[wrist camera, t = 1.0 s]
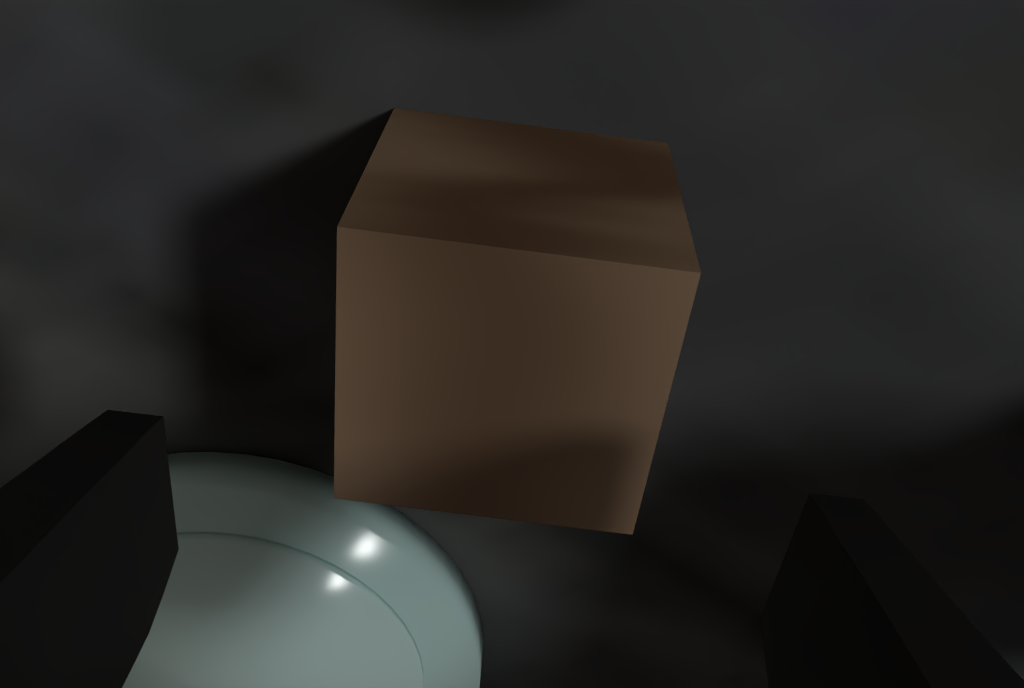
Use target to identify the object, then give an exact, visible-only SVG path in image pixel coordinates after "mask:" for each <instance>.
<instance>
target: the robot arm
mask: <svg viewBox="0 0 1024 688" xmlns="http://www.w3.org/2000/svg"><path fill="white" fill-rule="evenodd" d="M178 550H179V547H178V539H177V530H176V522H175V513H174V505H173V496H172V487H171V479H170V470H169V462H168V453H167V445H166V436H165V428H164V419H163V416H154V415H146V414H138V413H129V412H121V411H112V410H107V411H106V412H104V413H103V414H101V415H100V416H98V417H97V418H96V419H94V420H93V421H91V422H90V423H89V424H87V425H86V426H84V427H83V428H82V429H80V430H79V431H78V432H76V433H75V434H74V435H72V436H71V437H70V438H68V439H67V440H65V441H64V442H63V443H61V444H60V445H59V446H57V447H56V448H55V449H53V450H52V451H50V452H49V453H48V454H46V455H45V456H44V457H42V458H41V459H40V460H38V461H37V462H36V463H34V464H33V465H31V466H30V467H29V468H27V469H26V470H25V471H23V472H22V473H21V474H19V475H18V476H17V477H15V478H14V479H12V480H11V481H10V482H8V483H7V484H6V485H4V486H3V487H2V488H0V688H122V687H123V685H124V683H125V681H126V679H127V677H128V675H129V673H130V671H131V669H132V667H133V665H134V663H135V661H136V659H137V657H138V655H139V653H140V651H141V649H142V647H143V645H144V643H145V640H146V638H147V636H148V634H149V632H150V629H151V627H152V624H153V621H154V618H155V616H156V613H157V610H158V608H159V605H160V602H161V600H162V597H163V594H164V591H165V588H166V585H167V582H168V579H169V577H170V574H171V571H172V568H173V565H174V562H175V559H176V556H177V553H178ZM761 621H762V631H763V640H764V650H765V660H766V669H767V676H768V684H769V688H1024V680H1023V679H1022V678H1021V677H1020V676H1019V675H1018V674H1017V673H1016V672H1015V671H1014V670H1013V669H1012V668H1011V667H1010V665H1009V664H1008V663H1007V662H1006V661H1005V660H1004V659H1003V658H1002V657H1001V656H1000V655H999V653H998V652H997V651H996V650H995V649H994V648H993V647H992V646H991V645H990V644H989V642H988V641H987V640H986V639H985V638H984V637H983V636H982V635H981V634H980V632H979V631H978V630H977V629H976V628H975V627H974V626H973V625H972V623H971V622H970V621H969V620H968V619H967V618H966V617H965V616H964V614H963V613H962V612H961V611H960V610H959V609H958V608H957V606H956V605H955V604H954V603H953V602H952V601H951V600H950V598H949V597H948V596H947V595H946V594H945V593H944V592H943V590H942V589H941V588H940V587H939V586H938V585H937V583H936V582H935V581H934V580H933V579H932V578H931V576H930V575H929V574H928V573H927V572H926V571H925V570H924V568H923V567H922V566H921V565H920V564H919V563H918V561H917V560H916V559H915V558H914V557H913V556H912V554H911V553H910V552H909V551H908V550H907V549H906V547H905V546H904V545H903V544H902V543H901V542H900V540H899V539H898V538H897V537H896V536H895V535H894V533H893V532H892V531H891V530H890V529H889V528H888V527H887V525H886V524H885V523H884V522H883V521H882V520H881V519H880V517H879V516H878V515H877V514H876V513H875V512H874V511H873V510H872V509H871V508H870V506H869V505H868V504H867V503H866V502H865V501H864V500H860V499H852V498H843V497H835V496H826V495H818V494H809V496H808V499H807V501H806V504H805V506H804V509H803V512H802V514H801V517H800V519H799V522H798V524H797V527H796V529H795V532H794V534H793V537H792V539H791V542H790V545H789V547H788V550H787V552H786V555H785V557H784V560H783V562H782V565H781V567H780V570H779V572H778V575H777V578H776V580H775V583H774V585H773V588H772V590H771V593H770V595H769V598H768V600H767V603H766V605H765V608H764V611H763V613H762V616H761Z"/></svg>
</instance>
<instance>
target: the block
mask: <svg viewBox="0 0 1024 688" xmlns="http://www.w3.org/2000/svg"><path fill="white" fill-rule="evenodd" d="M700 275H701V272H700V268H699V264H698V260H697V256H696V252H695V248H694V244H693V240H692V236H691V232H690V228H689V224H688V220H687V216H686V212H685V209H684V205H683V201H682V197H681V193H680V189H679V185H678V181H677V177H676V173H675V169H674V165H673V161H672V157H671V153H670V150H669V146H668V143H660V142H652V141H645V140H637V139H629V138H622V137H614V136H606V135H599V134H591V133H583V132H575V131H568V130H560V129H552V128H545V127H537V126H529V125H522V124H514V123H506V122H499V121H491V120H483V119H475V118H468V117H460V116H452V115H445V114H437V113H429V112H422V111H414V110H406V109H399V108H394V110H393V112H392V114H391V116H390V118H389V120H388V122H387V124H386V126H385V128H384V130H383V132H382V135H381V137H380V139H379V141H378V143H377V145H376V147H375V149H374V151H373V153H372V155H371V157H370V159H369V162H368V164H367V166H366V168H365V170H364V172H363V174H362V176H361V178H360V180H359V182H358V184H357V186H356V189H355V191H354V193H353V195H352V197H351V199H350V201H349V203H348V205H347V207H346V209H345V211H344V213H343V216H342V218H341V220H340V222H339V224H338V226H337V274H336V356H335V438H334V499H342V500H350V501H358V502H367V503H375V504H383V505H391V506H400V507H408V508H416V509H424V510H433V511H441V512H449V513H457V514H466V515H474V516H482V517H491V518H499V519H507V520H515V521H524V522H532V523H540V524H548V525H557V526H565V527H573V528H581V529H590V530H598V531H606V532H614V533H623V534H631V535H633V531H634V527H635V524H636V520H637V516H638V512H639V508H640V504H641V501H642V497H643V493H644V489H645V485H646V481H647V478H648V474H649V470H650V466H651V462H652V458H653V455H654V451H655V447H656V443H657V439H658V436H659V432H660V428H661V424H662V420H663V416H664V413H665V409H666V405H667V401H668V397H669V393H670V390H671V386H672V382H673V378H674V374H675V370H676V367H677V363H678V359H679V355H680V351H681V347H682V344H683V340H684V336H685V332H686V328H687V324H688V321H689V317H690V313H691V309H692V305H693V301H694V298H695V294H696V290H697V286H698V282H699V278H700Z"/></svg>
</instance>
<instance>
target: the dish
mask: <svg viewBox="0 0 1024 688" xmlns="http://www.w3.org/2000/svg"><path fill="white" fill-rule="evenodd" d="M168 462H169V470H170V479H171V487H172V496H173V505H174V513H175V522H176V530H177V539H178V547H179V550H178V553H177V556H176V559H175V562H174V565H173V568H172V571H171V574H170V577H169V579H168V582H167V585H166V588H165V591H164V594H163V597H162V600H161V602H160V605H159V608H158V610H157V613H156V616H155V618H154V621H153V624H152V627H151V629H150V632H149V634H148V636H147V638H146V640H145V643H144V645H143V647H142V649H141V651H140V653H139V655H138V657H137V659H136V661H135V663H134V665H133V667H132V669H131V671H130V673H129V675H128V677H127V679H126V681H125V683H124V685H123V687H122V688H479V687H480V677H481V666H482V655H483V630H482V623H481V616H480V613H479V610H478V607H477V604H476V601H475V598H474V595H473V593H472V591H471V590H470V588H469V586H468V584H467V582H466V580H465V578H464V577H463V575H462V573H461V572H460V570H459V569H458V568H457V566H456V565H455V564H454V562H453V561H452V560H451V558H450V557H449V556H448V554H447V553H446V552H445V551H444V550H443V549H442V548H441V547H440V546H439V545H438V544H437V543H436V542H435V541H434V540H433V539H432V538H431V536H430V535H429V534H428V533H427V532H425V531H424V530H423V529H422V528H420V527H419V526H418V525H417V524H415V523H414V522H413V521H412V520H410V519H409V518H408V517H407V516H405V515H404V514H403V513H401V512H400V511H398V510H397V509H395V508H393V507H392V506H390V505H383V504H375V503H367V502H358V501H350V500H342V499H334V477H333V476H330V475H327V474H325V473H322V472H319V471H317V470H314V469H311V468H307V467H303V466H300V465H296V464H292V463H289V462H285V461H281V460H276V459H270V458H265V457H259V456H253V455H247V454H236V453H222V452H185V453H172V454H168Z"/></svg>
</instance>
